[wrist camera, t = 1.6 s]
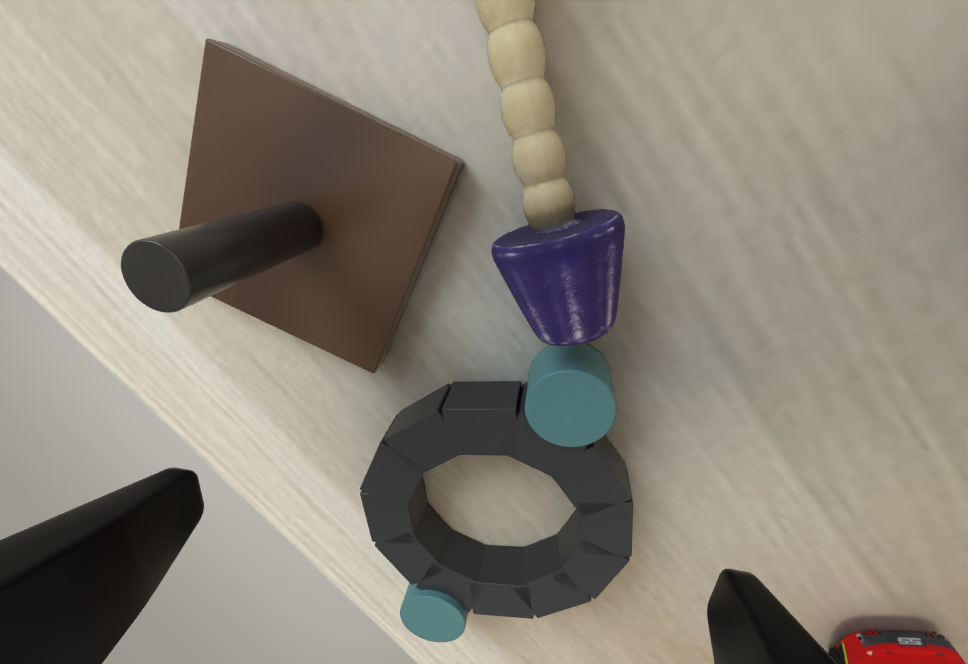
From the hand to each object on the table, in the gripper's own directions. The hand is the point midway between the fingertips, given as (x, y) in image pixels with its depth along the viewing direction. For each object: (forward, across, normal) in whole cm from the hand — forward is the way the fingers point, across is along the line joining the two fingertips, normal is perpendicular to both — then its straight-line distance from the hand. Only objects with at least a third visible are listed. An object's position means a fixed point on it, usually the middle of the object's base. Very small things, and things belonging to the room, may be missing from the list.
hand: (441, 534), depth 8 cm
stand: (+13, +9, -2) cm, 16 cm away
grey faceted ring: (+13, 0, +11) cm, 17 cm away
